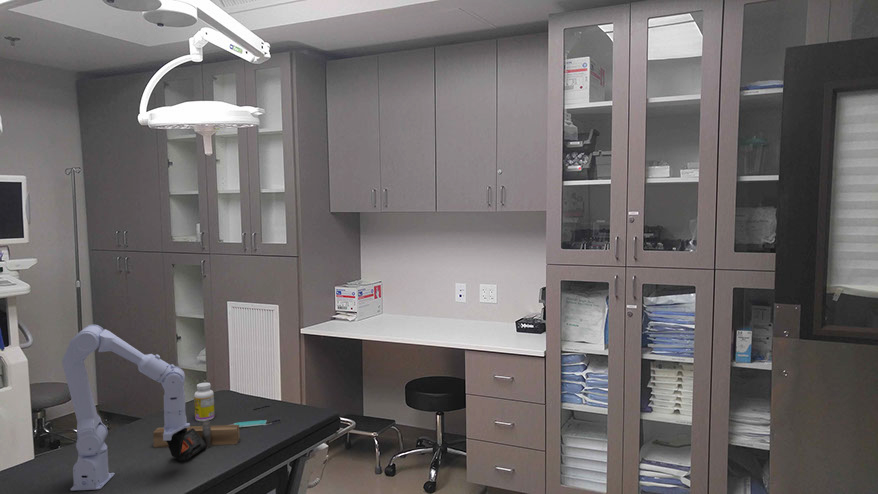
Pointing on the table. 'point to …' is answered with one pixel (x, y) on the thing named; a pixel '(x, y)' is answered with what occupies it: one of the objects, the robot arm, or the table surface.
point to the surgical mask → (254, 422)
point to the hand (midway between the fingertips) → (176, 455)
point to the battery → (190, 445)
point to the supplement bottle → (204, 402)
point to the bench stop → (205, 435)
